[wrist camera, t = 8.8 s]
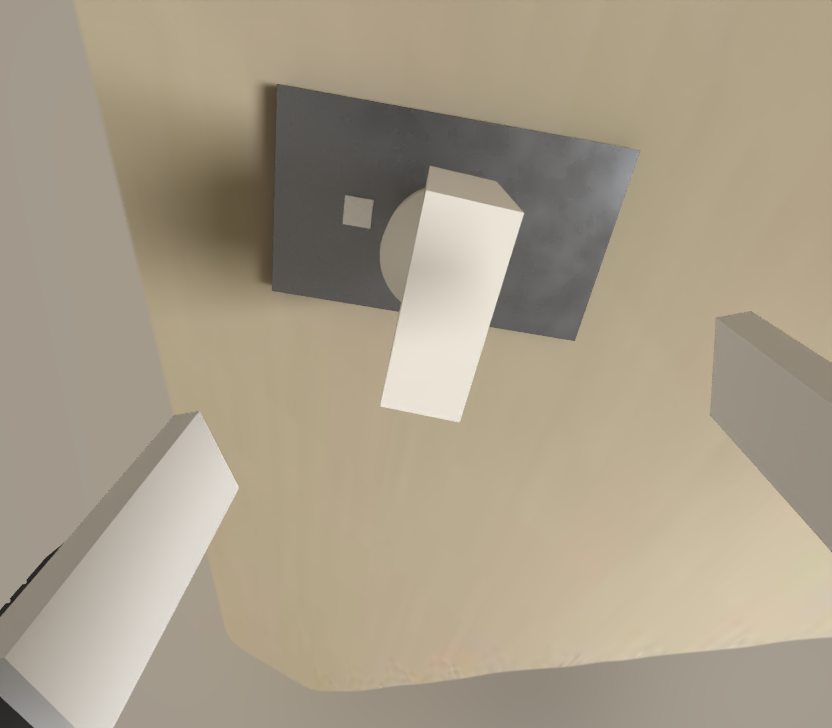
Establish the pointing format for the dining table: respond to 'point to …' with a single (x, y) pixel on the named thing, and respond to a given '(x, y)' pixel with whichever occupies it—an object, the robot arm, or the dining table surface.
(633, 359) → the dining table surface
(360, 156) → the base plate
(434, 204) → the lever handle
